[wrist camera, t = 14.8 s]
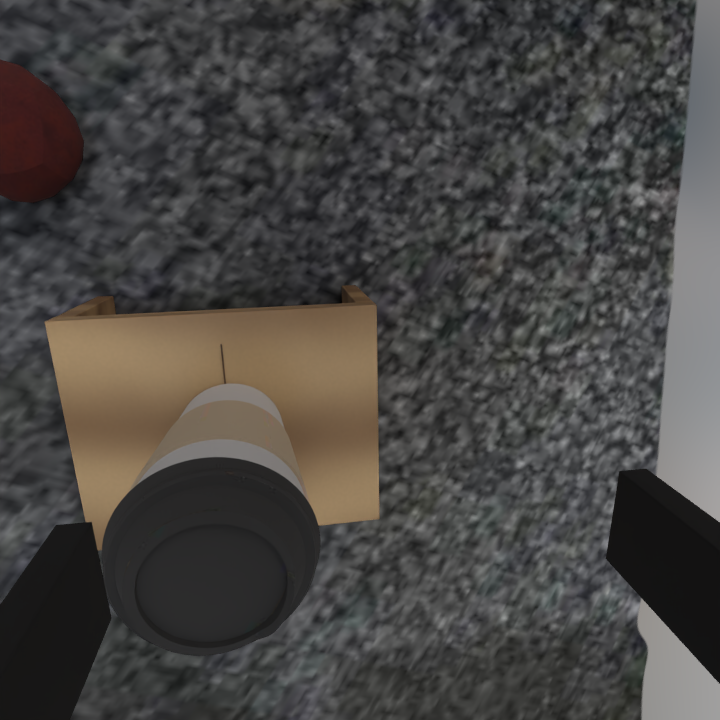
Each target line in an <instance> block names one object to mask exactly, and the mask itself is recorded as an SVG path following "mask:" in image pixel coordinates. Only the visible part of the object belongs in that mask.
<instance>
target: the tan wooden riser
mask: <svg viewBox="0 0 720 720" xmlns="http://www.w3.org/2000/svg"><path fill="white" fill-rule="evenodd" d="M45 326H46V331H47V335H48V340H49V345H50V350H51V355H52V360H53V365H54V370H55V374H56V379H57V384H58V389H59V394H60V399H61V404H62V409H63V413H64V418H65V423H66V428H67V433H68V438H69V443H70V448H71V452H72V457H73V462H74V467H75V472H76V477H77V482H78V487H79V491H80V496H81V501H82V506H83V511H84V516H85V521H86V522H92V525H93V530H94V535H95V540H96V545H97V550H102V543H103V537H104V533H105V529H106V527H107V524H108V522H109V519H110V517H111V515H112V513H113V512H114V510H115V508H116V507H117V506H118V504H119V503H120V501H121V500H122V499H123V498H124V497H125V496H126V494H127V493H128V492H129V490H130V488H131V486H132V484H133V483H134V481H135V479H136V478H137V476H138V475H139V473H140V472H141V471H142V469H143V468H144V466H145V465H146V463H147V462H148V460H149V459H150V457H151V456H152V454H153V453H154V451H155V450H156V449H157V447H158V446H159V444H160V443H161V441H162V440H163V438H164V437H165V435H166V434H167V432H168V431H169V429H170V428H171V427H172V426H173V424H174V423H175V422H176V421H177V420H178V419H179V418H180V416H181V415H182V413H183V411H184V410H185V408H186V407H187V405H188V404H189V403H190V402H191V401H192V400H193V399H194V398H195V397H196V396H197V395H198V394H200V393H201V392H203V391H205V390H207V389H209V388H211V387H214V386H217V385H222V384H231V383H233V384H243V385H247V386H250V387H253V388H255V389H258V390H259V391H261V392H263V393H264V394H265V395H267V396H268V397H269V398H270V399H271V400H272V401H273V403H274V404H275V405H276V407H277V409H278V411H279V413H280V415H281V419H282V422H283V425H284V429H285V431H286V432H287V434H288V436H289V439H290V442H291V445H292V448H293V451H294V454H295V457H296V461H297V464H298V467H299V470H300V473H301V476H302V479H303V482H304V485H305V488H306V491H307V495H308V500H309V504H310V505H311V507H312V509H313V511H314V514H315V516H316V519H317V522H318V526H320V525H329V524H338V523H347V522H356V521H365V520H374V519H379V454H378V376H377V305H376V304H375V303H374V302H373V301H371V300H370V299H369V298H368V297H367V296H366V295H365V294H364V293H363V292H362V291H361V290H360V289H359V288H358V287H357V286H356V285H347V286H342V303H339V304H319V305H299V306H279V307H259V308H239V309H218V310H198V311H178V312H158V313H138V314H118V315H116V310H115V304H114V298H113V296H101V297H96V298H94V299H92V300H90V301H88V302H86V303H83V304H81V305H79V306H77V307H75V308H73V309H71V310H69V311H67V312H65V313H63V314H61V315H59V316H56V317H54V318H52V319H50V320H48V321H45Z"/></svg>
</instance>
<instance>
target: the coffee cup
mask: <svg viewBox="0 0 720 720" xmlns="http://www.w3.org/2000/svg"><path fill="white" fill-rule="evenodd" d="M319 553H320V531H319V526H318V522H317V519H316V516H315V514H314V511H313V509H312V507H311V505H310V504H309V500H308V495H307V491H306V488H305V485H304V482H303V479H302V476H301V473H300V470H299V467H298V464H297V461H296V457H295V454H294V451H293V448H292V445H291V442H290V439H289V436H288V434H287V432H286V431H285V429H284V425H283V422H282V419H281V415H280V413H279V411H278V409H277V407H276V405H275V404H274V403H273V401H272V400H271V399H270V398H269V397H268V396H267V395H265V394H264V393H263V392H261V391H259V390H258V389H255V388H253V387H250V386H247V385H243V384H233V383H231V384H222V385H217V386H214V387H211V388H209V389H207V390H205V391H203V392H201V393H200V394H198V395H197V396H196V397H195V398H194V399H193V400H192V401H191V402H190V403H189V404H188V405H187V407H186V408H185V410H184V411H183V413H182V415H181V416H180V418H179V419H178V420H177V421H176V422H175V423H174V424H173V426H172V427H171V428H170V429H169V431H168V432H167V434H166V435H165V437H164V438H163V440H162V441H161V443H160V444H159V446H158V447H157V449H156V450H155V451H154V453H153V454H152V456H151V457H150V459H149V460H148V462H147V463H146V465H145V466H144V468H143V469H142V471H141V472H140V473H139V475H138V476H137V478H136V479H135V481H134V483H133V484H132V486H131V488H130V490H129V492H128V493H127V494H126V496H125V497H124V498H123V499H122V500H121V501H120V503H119V504H118V506H117V507H116V508H115V510H114V512H113V513H112V515H111V517H110V519H109V522H108V524H107V527H106V529H105V533H104V537H103V543H102V563H103V579H104V584H105V589H106V594H107V597H108V599H109V601H110V604H111V606H112V607H113V609H114V611H115V612H116V614H117V615H118V617H119V618H120V619H121V620H122V622H123V623H124V624H125V625H126V626H127V627H128V628H129V629H131V630H132V631H133V632H134V633H135V634H137V635H138V636H140V637H141V638H143V639H144V640H146V641H148V642H150V643H152V644H154V645H156V646H159V647H161V648H163V649H165V650H168V651H171V652H175V653H179V654H184V655H194V656H205V655H215V654H221V653H225V652H229V651H232V650H235V649H238V648H240V647H242V646H245V645H247V644H249V643H251V642H254V641H256V640H258V639H261V638H264V637H267V636H269V635H271V634H272V633H274V632H275V631H276V630H277V629H278V628H279V626H280V625H281V624H282V623H283V622H284V621H285V620H286V619H287V618H288V617H289V616H290V615H291V614H292V613H293V612H294V611H295V609H296V608H297V607H298V606H299V604H300V603H301V602H302V600H303V598H304V597H305V595H306V593H307V591H308V589H309V587H310V585H311V583H312V580H313V577H314V573H315V569H316V566H317V563H318V559H319Z"/></svg>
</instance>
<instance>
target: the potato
mask: <svg viewBox="0 0 720 720" xmlns="http://www.w3.org/2000/svg"><path fill="white" fill-rule="evenodd" d="M83 147H84V140H83V137H82V135H81V132H80V130H79V127H78V124H77V122H76V119H75V117H74V116H73V114H72V113H71V112H70V110H69V109H68V108H67V106H66V105H65V104H64V102H63V101H62V100H61V98H60V97H59V96H58V95H57V94H56V92H55V91H54V90H52V89H51V88H50V87H48V86H47V85H46V84H44V83H43V82H42V81H41V80H39V79H38V78H37V77H35V76H34V75H33V74H31V73H30V72H29V71H27V70H26V69H24V68H23V67H22V66H20V65H17V64H13V63H10V62H6V61H3V60H0V195H2V196H4V197H6V198H8V199H10V200H12V201H20V202H31V203H34V202H38V201H41V200H44V199H47V198H50V197H53V196H55V195H56V194H57V193H58V192H59V191H60V190H62V189H63V188H64V187H65V186H66V185H67V184H68V183H69V182H70V181H72V180H73V179H74V177H75V175H76V173H77V170H78V168H79V166H80V164H81V162H82V160H83Z"/></svg>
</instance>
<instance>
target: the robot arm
mask: <svg viewBox="0 0 720 720" xmlns="http://www.w3.org/2000/svg"><path fill="white" fill-rule="evenodd" d="M606 559H607V560H608V561H609V563H610V564H611V565H612V566H613V567H614V568H615V569H616V570H617V571H618V572H619V574H620V575H621V576H622V577H623V578H624V579H625V580H626V581H627V582H628V583H629V585H630V586H631V587H632V588H633V589H634V590H635V591H636V592H637V593H638V594H639V596H640V597H641V598H642V599H643V600H644V601H645V602H646V603H647V604H648V605H649V607H650V608H651V609H652V610H653V611H654V612H655V613H656V614H657V615H658V616H659V618H660V619H661V620H662V621H663V622H664V623H665V624H666V625H667V626H668V627H669V629H670V630H671V631H672V632H673V633H674V634H675V635H676V636H677V637H678V638H679V640H680V641H681V642H682V643H683V644H684V645H685V646H686V647H687V648H688V649H689V650H690V652H691V653H692V654H693V655H694V656H695V657H696V658H697V659H698V660H699V661H700V663H701V664H702V665H703V666H704V667H705V668H706V669H707V670H708V671H709V672H710V674H711V675H712V676H713V677H714V678H715V679H716V680H717V681H718V682H719V683H720V522H718V521H717V520H715V519H714V518H713V517H711V516H710V515H709V514H707V513H706V512H704V511H703V510H701V509H700V508H699V507H698V506H696V505H695V504H694V503H692V502H691V501H690V500H688V499H687V498H685V497H684V496H683V495H681V494H680V493H678V492H677V491H676V490H674V489H673V488H672V487H670V486H669V485H667V484H666V483H665V482H664V481H662V480H661V479H659V478H658V477H657V476H655V475H654V474H653V473H651V472H650V471H648V470H647V469H638V470H627V471H619V478H618V484H617V491H616V497H615V504H614V510H613V517H612V523H611V529H610V536H609V542H608V549H607V555H606ZM110 621H111V614H110V609H109V604H108V599H107V594H106V589H105V584H104V580H103V575H102V570H101V565H100V560H99V555H98V550H97V545H96V540H95V535H94V530H93V525H92V522H85V523H75V524H64V525H56V526H55V527H54V529H53V530H52V532H51V533H50V535H49V536H48V537H47V539H46V540H45V542H44V543H43V545H42V546H41V547H40V549H39V550H38V552H37V553H36V555H35V556H34V557H33V559H32V560H31V562H30V563H29V565H28V566H27V567H26V569H25V570H24V572H23V573H22V575H21V576H20V577H19V579H18V580H17V582H16V583H15V585H14V586H13V587H12V589H11V590H10V592H9V593H8V595H7V596H6V597H5V599H4V600H3V602H2V603H1V605H0V720H70V718H71V716H72V713H73V711H74V708H75V706H76V703H77V701H78V699H79V696H80V694H81V691H82V689H83V686H84V684H85V682H86V679H87V677H88V674H89V672H90V669H91V667H92V664H93V662H94V660H95V657H96V655H97V652H98V650H99V647H100V645H101V643H102V640H103V638H104V635H105V633H106V630H107V628H108V625H109V623H110Z"/></svg>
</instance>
